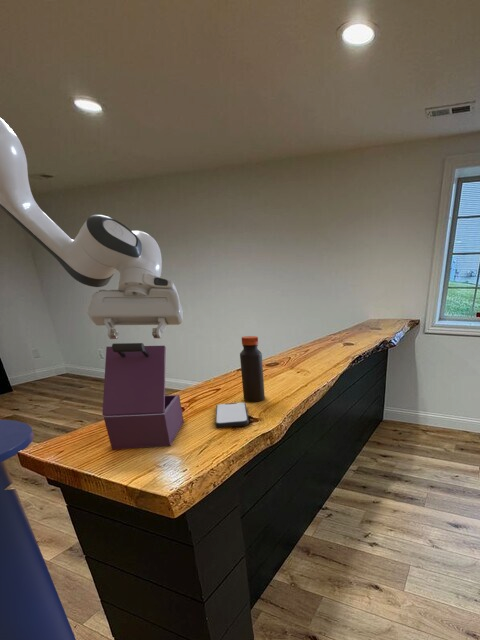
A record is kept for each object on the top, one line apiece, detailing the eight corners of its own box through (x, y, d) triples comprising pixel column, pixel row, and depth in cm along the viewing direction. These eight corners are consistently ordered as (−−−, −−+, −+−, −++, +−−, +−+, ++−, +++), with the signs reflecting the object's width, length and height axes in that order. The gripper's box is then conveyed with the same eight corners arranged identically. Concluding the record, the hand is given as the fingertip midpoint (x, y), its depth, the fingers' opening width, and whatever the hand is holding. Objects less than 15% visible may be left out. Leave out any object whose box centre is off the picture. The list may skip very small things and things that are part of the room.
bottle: (268, 398, 116) (265, 336, 108) (256, 403, 110) (251, 339, 102) (252, 395, 119) (247, 335, 111) (239, 400, 113) (233, 337, 105)
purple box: (134, 424, 93) (128, 396, 90) (183, 422, 95) (179, 394, 92) (111, 449, 79) (103, 417, 76) (170, 446, 81) (164, 414, 78)
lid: (107, 348, 80) (95, 335, 74) (165, 347, 82) (158, 334, 76) (103, 416, 76) (90, 407, 71) (164, 413, 78) (156, 405, 73)
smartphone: (249, 426, 93) (246, 406, 107) (249, 420, 92) (245, 401, 106) (215, 429, 91) (216, 408, 105) (214, 423, 90) (215, 403, 104)
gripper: (86, 280, 80) (77, 328, 75) (179, 280, 83) (177, 327, 78) (99, 299, 86) (92, 346, 81) (186, 300, 89) (184, 344, 84)
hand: (134, 337), depth 80 cm, fingers open, 8 cm apart
